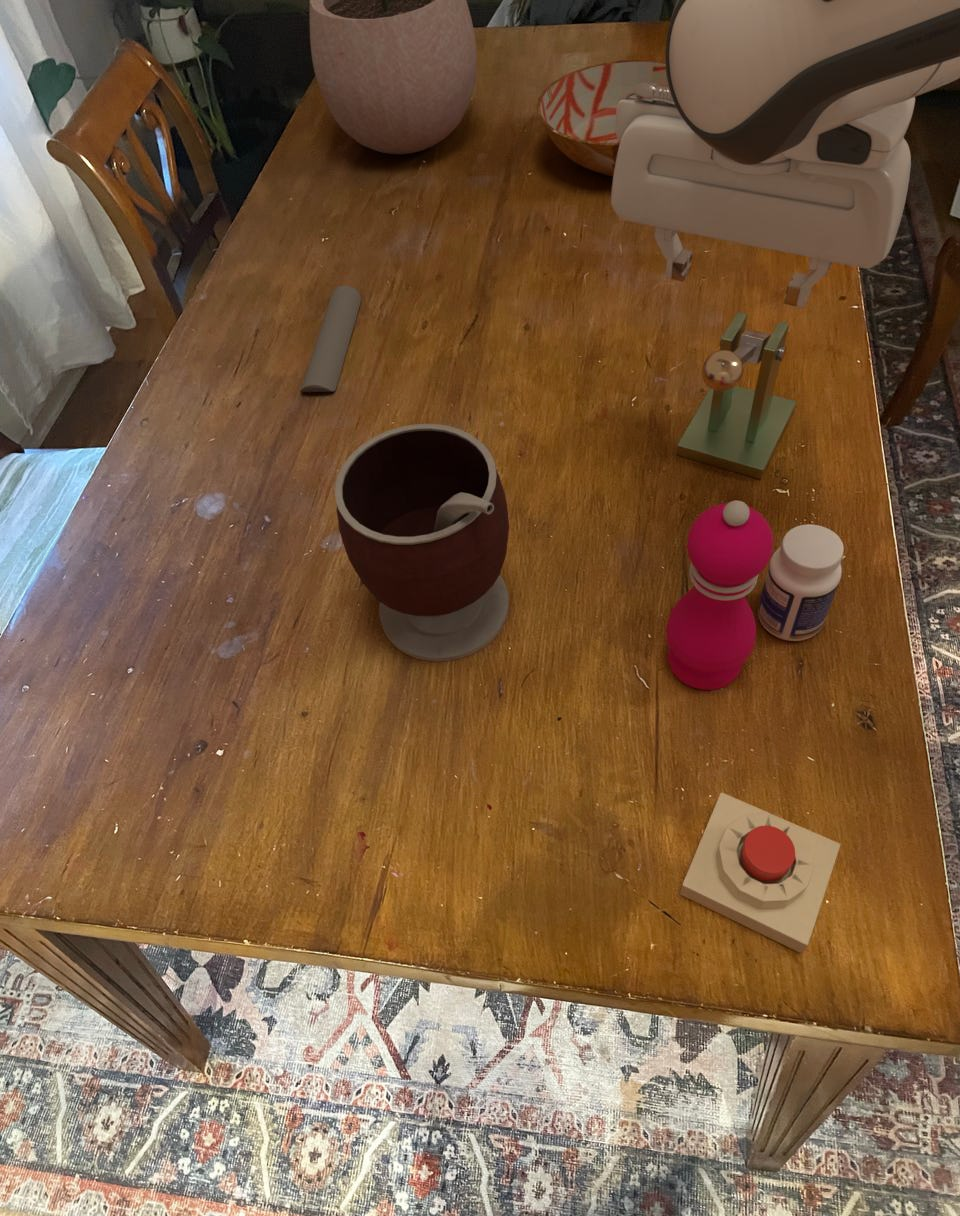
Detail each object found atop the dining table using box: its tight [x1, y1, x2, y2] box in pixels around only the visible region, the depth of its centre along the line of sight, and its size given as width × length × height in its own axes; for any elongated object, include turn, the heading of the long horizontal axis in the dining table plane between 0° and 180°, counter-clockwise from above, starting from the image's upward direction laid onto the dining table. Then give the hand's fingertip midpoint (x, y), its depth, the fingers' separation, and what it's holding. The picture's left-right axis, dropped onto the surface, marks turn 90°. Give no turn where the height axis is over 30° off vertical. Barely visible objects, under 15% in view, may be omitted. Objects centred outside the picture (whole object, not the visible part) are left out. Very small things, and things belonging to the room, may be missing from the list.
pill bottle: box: [757, 523, 845, 642], centre depth 72 cm, size 6×6×10 cm
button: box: [741, 826, 795, 881], centre depth 59 cm, size 3×3×2 cm
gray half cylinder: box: [299, 284, 362, 393], centre depth 105 cm, size 4×20×2 cm, turn 175°
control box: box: [679, 792, 841, 954], centre depth 61 cm, size 9×8×4 cm
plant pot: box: [309, 0, 477, 155], centre depth 122 cm, size 24×24×30 cm
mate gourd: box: [334, 423, 510, 663], centre depth 72 cm, size 16×14×20 cm
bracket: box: [675, 311, 798, 480], centre depth 85 cm, size 11×9×13 cm
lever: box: [701, 328, 771, 391], centre depth 76 cm, size 14×3×3 cm, turn 151°
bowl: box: [535, 59, 669, 177], centre depth 122 cm, size 25×25×8 cm
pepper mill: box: [665, 500, 774, 691], centre depth 66 cm, size 7×7×20 cm
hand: (735, 288), depth 66 cm, fingers open, 8 cm apart
